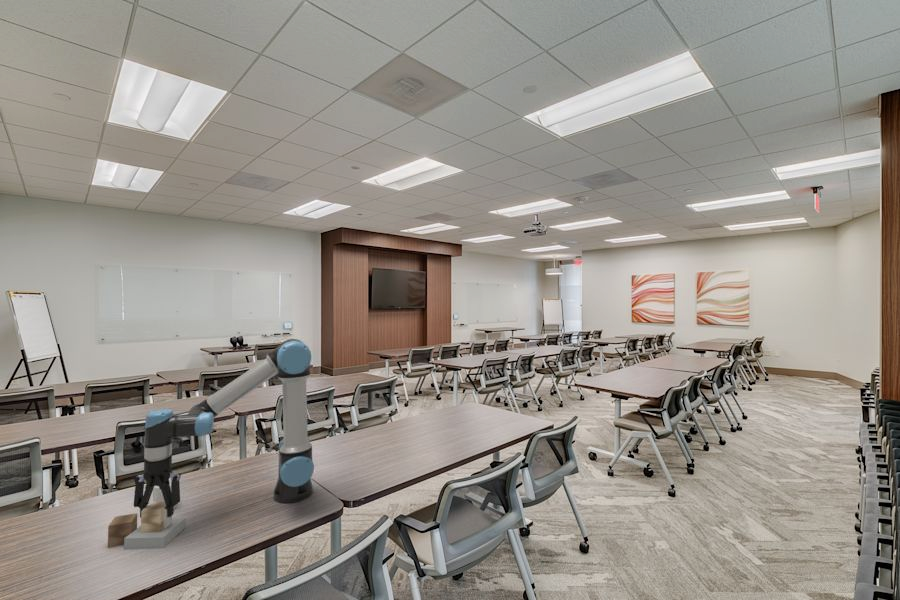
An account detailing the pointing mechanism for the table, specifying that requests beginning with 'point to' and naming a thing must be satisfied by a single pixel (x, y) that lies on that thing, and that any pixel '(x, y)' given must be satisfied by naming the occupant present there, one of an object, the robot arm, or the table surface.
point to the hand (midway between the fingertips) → (156, 526)
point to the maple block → (153, 517)
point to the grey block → (154, 536)
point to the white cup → (159, 494)
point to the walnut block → (121, 529)
